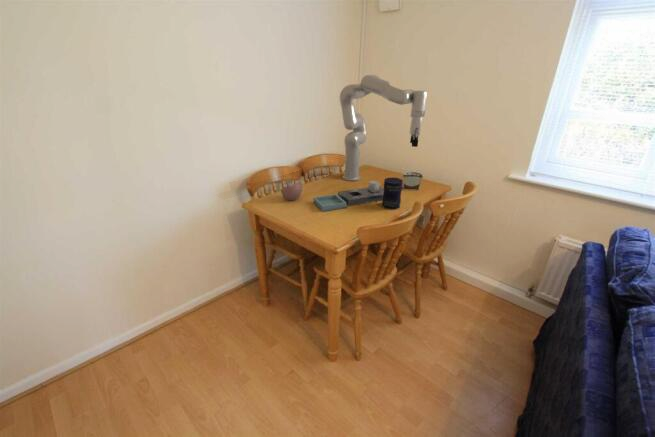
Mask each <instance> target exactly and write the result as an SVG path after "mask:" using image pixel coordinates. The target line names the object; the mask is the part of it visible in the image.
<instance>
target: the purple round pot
mask: <svg viewBox="0 0 655 437" xmlns="http://www.w3.org/2000/svg"><path fill="white" fill-rule="evenodd" d="M290 182H291V180H290V179H288V181H286V183H285V185H286V187H282V188H281V189H280V193H281V195H282V197H283V198H284V199H286V200H288V201H294V200H297V199H299V198H300V197H301V195H302V192H303V187H302V185H301V183H300V182H298V183H294V184H291V185H290Z"/></svg>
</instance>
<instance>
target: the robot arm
mask: <svg viewBox="0 0 655 437" xmlns="http://www.w3.org/2000/svg"><path fill="white" fill-rule="evenodd" d="M369 94H375V95H378V96H380V97H382V98H384V99H385V100H387V101H388V102H389V101H390V103H391V102H392V103H395V104H398V105H401V106H402V105H404V106H405V105H408V104H409V105H410V104H411V109H410V117H411V120H410V129H409V134H410V141H409V143H410V144H411V147H415V148H416V147H417V148H418V145H419V136H420V134H421V128H422V121H423V118H425V114H426V105H427V100H428V92H427V90H413V89H400V88H397V87H394V86H393V85H391V84H390V82H389V81H387V80H385V79H381V77H379V76H378V75H376V74H367V75H364V76H363V77H362V79H361V81H360V83H355V84H348V85H346V86H344V87H343V88H342V90H341V91H340V93H339V103H340V107H341V113H342V120H343V125H344V128H345V129H346V130H349V131H350V132H348V133H347V134H346V135H345V137H344V148H345V149H344V150H345V159H344V171H343V172H344V174H343V175H342V179H343V180H345V181H348V182H354V181H357V182H358V181H359V180H361V175H359V172H360V148H359V146H360V145H362V144H364V143H365V142H366V140H367V131H366V124H365V123H366V122H365V118H364V116H363V115H362V114H360V113H357V112H356V107H355V103H354V101H353V100H359V99H362V98H365V97H366V96H369Z"/></svg>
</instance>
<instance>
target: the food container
mask: <svg viewBox="0 0 655 437" xmlns="http://www.w3.org/2000/svg"><path fill="white" fill-rule="evenodd" d="M402 177H403V183H402V190H404V189H408V191H419V190H420V187H421V186H420V185H421V182H422V179H423V178H424V176H423V174H422V173H420V172H417V171H406V172H404V173H403V174H402Z"/></svg>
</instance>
